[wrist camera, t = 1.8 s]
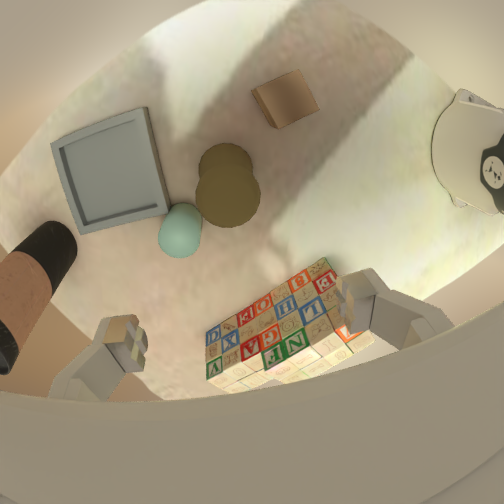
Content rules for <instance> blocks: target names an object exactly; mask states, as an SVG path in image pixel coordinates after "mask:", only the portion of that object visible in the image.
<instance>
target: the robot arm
mask: <svg viewBox="0 0 504 504" xmlns="http://www.w3.org/2000/svg"><path fill="white" fill-rule="evenodd" d="M432 160H433V166H434V170H435V173H436V176H437V178H438V180H439V182H440V183H441V184H442V186H443V187H444V188H445V189H446V190H447V191H448V192H449V193H450V195H451V198H452V201H453V203H454V205H455V206H457V207H460V208H461V207H464V206H466V205H468V204H469V205H471V206H473V207H475V208H477V209H478V210H480V211H482V212H484V213H486V214H488V215H491V216H492V215H493V214H497V213H498V212H500V213H502V214H504V109H502V108H496V107H495V106H493V105H491V104H490V103H488V102H487V101H485V100H483V99H481V98H480V97H478V96H476V95H475V94H473V93H471V92H469V91H467V90H465V89H459V90H458V92H457V94H456V96H455V98H454V101H453V103H452V104H451V105H450V106H449V107H448V108H447V109H446V110H445V111H444V112H443V113H442V115H441V116H440V118H439V120H438V122H437V124H436V127H435V131H434V135H433V141H432ZM336 286H337V288H338V291H337V292H336V294H335V301H336V307H337V310H338V312H339V314H340V316H342V317H344V318H345V320H344V324H345V326H346V328H347V329H348V331H349V333H350V335H351V334H355V333H359V332H362V331H366V330H370V331H371V332H373V333H374V334H376V335H377V336H379V337H380V338H382V339H383V340H385V341H387V342H388V343H389V344H391V345H393V346H394V347H396V348H397V349H399V351H397V352H394V353H392V354H389V355H386V356H383V357H380V358H377V359H374V360H372V361H368V362H365V363H362V364H359V365H356V366H353V367H349V368H346V369H343V370H339V371H336V372H332V373H329V374H325V375H321V376H317V377H313V378H309V379H305V380H301V381H297V382H292V383H288V384H283V385H278V386H273V387H268V388H263V389H258V390H252V391H246V392H239V393H233V394H226V395H218V396H210V397H201V398H191V399H180V400H165V401H144V402H106V400H107V399H108V398H109V397H110V395H111V394H112V392H113V391H114V389H115V388H116V387H117V385H118V384H119V383H120V381H121V380H122V378H123V377H124V376H125V374H126V373H132V372H142V371H143V370H144V365H145V357H144V356H143V355H144V353H145V352H146V351H147V348H148V341H147V336H146V333H145V331H144V329H142V328H141V327H139V326H138V324H139V320H138V318H137V317H136V315H134V314H131V315H122V316H113V317H106V318H103V319H101V321H100V324H99V326H98V329H97V331H96V334H95V337H94V339H93V342H92V345H88V346H87V347H86V348H85V349H84V350H83V351H82V352H81V353H80V354H79V355H78V356H76V357H75V358H74V359H73V360H72V361H71V362H70V363H69V364H68V365H67V366H66V367H65V368H64V369H63V370H62V371H61V372H60V373H59V374H58V375H56V376H55V378H54V381H53V383H52V386H51V389H50V392H49V395H48V398H45V397H37V396H29V395H23V394H16V393H11V392H6V391H1V390H0V504H504V301H502V302H501V303H499V304H497V305H496V306H494V307H492V308H490V309H489V310H487V311H485V312H483V313H481V314H480V315H477V316H476V317H474V318H472V319H470V320H468V321H466V322H464V323H462V324H460V325H458V326H456V327H455V326H454V325H453V323H452V322H451V321H450V320H449V319H448V317H447V316H446V315H445V314H444V312H443V311H442V310H441V309H440V308H437V307H435V306H433V305H430V304H428V303H425V302H423V301H420V300H418V299H415V298H413V297H411V296H408V295H406V294H403V293H401V292H398V291H396V290H390V289H389V288H388V287H387V285H386V284H385V283H384V282H383V281H382V279H381V278H380V277H379V276H378V274H377V273H376V272H375V271H374V270H373V269H372V268H368V269H364V270H361V271H358V272H354V273H350V274H346V275H341V276H337V278H336Z"/></svg>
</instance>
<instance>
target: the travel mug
mask: <svg viewBox="0 0 504 504" xmlns="http://www.w3.org/2000/svg"><path fill="white" fill-rule="evenodd" d="M76 255H77V245H76V241H75V239H74V236H73V235H72V233H71V232H70V231H69V229H68V228H67V227H65V226H64V225H63V224H61V223H59V222H55V221H49V222H46V223H44V224H43V225H41V226H40V227H39V228H37V229H36V230H35V231H34V232H33V233H32V234H30V235H29V236H28V237H27V238H26V239H25V240H24V241H22V242H21V243H20V244H19V245H18V246H17V247H16V248H15V249H14V250H13V251H12V252H11V253H10V254H8V256H7V257H6V258H5V259H4V260H3V261H2V262H1V263H0V374H1V375H7V374H9V373H10V371H11V369H12V367H13V365H14V363H15V361H16V359H17V357H18V355H19V353H20V351H21V349H22V347H23V345H24V343H25V342H26V340H27V338H28V336H29V334H30V333H31V331H32V329H33V327H34V326H35V324H36V322H37V321H38V319H39V317H40V316H41V314H42V312H43V311H44V309H45V307H46V306H47V304H48V303H49V301H50V299H51V298H52V296H53V294H54V293H55V291H56V289H57V288H58V286H59V284H60V283H61V281H62V279H63V278H64V276H65V274H66V273H67V271H68V270H69V268H70V267H71V265H72V263H73V262H74V260H75V258H76Z"/></svg>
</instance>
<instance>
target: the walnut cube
mask: <svg viewBox="0 0 504 504" xmlns="http://www.w3.org/2000/svg"><path fill="white" fill-rule="evenodd" d="M251 92H252V94H253V95H254V97H255V99H256V100H257V102H258V104H259V106H260V107H261V109H262V111H263V113H264V114H265V116H266V118H267V120H268V122H269V123H270V125H271V126H273V127H275V128H277V129H280V128H282V127H284V126H286V125H288V124H291V123H293V122H295V121H297V120H299V119H301V118H303V117H305V116H307V115H309V114H312V113H314V112H316V111H318V110H320V109H319V107H318V105H317V103H316V101H315V99H314V97H313V95H312V93H311V91H310V89H309V87H308V85H307V84H306V82H305V80H304V78H303V76H302V74H301V72H300V71H299V69H298V70H295V71H293V72H290V73H288V74H286V75H283V76H281V77H279V78H277V79H274V80H272V81H270V82H268V83H266V84H264V85H262V86H260V87H258V88H255V89H253V90H251Z"/></svg>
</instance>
